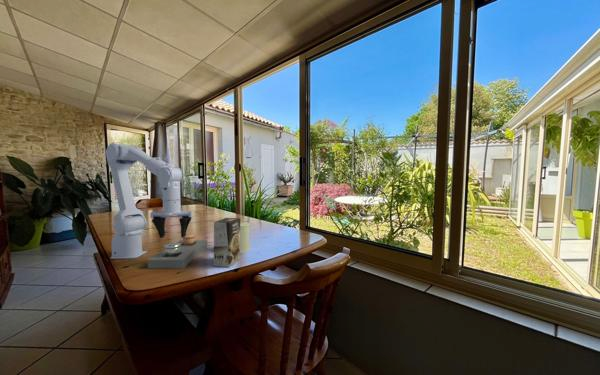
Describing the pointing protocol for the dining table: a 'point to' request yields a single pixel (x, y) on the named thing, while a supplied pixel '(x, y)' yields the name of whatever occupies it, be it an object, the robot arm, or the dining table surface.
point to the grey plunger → (172, 249)
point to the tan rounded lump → (188, 239)
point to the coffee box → (226, 242)
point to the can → (244, 237)
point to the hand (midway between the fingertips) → (172, 236)
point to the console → (181, 260)
